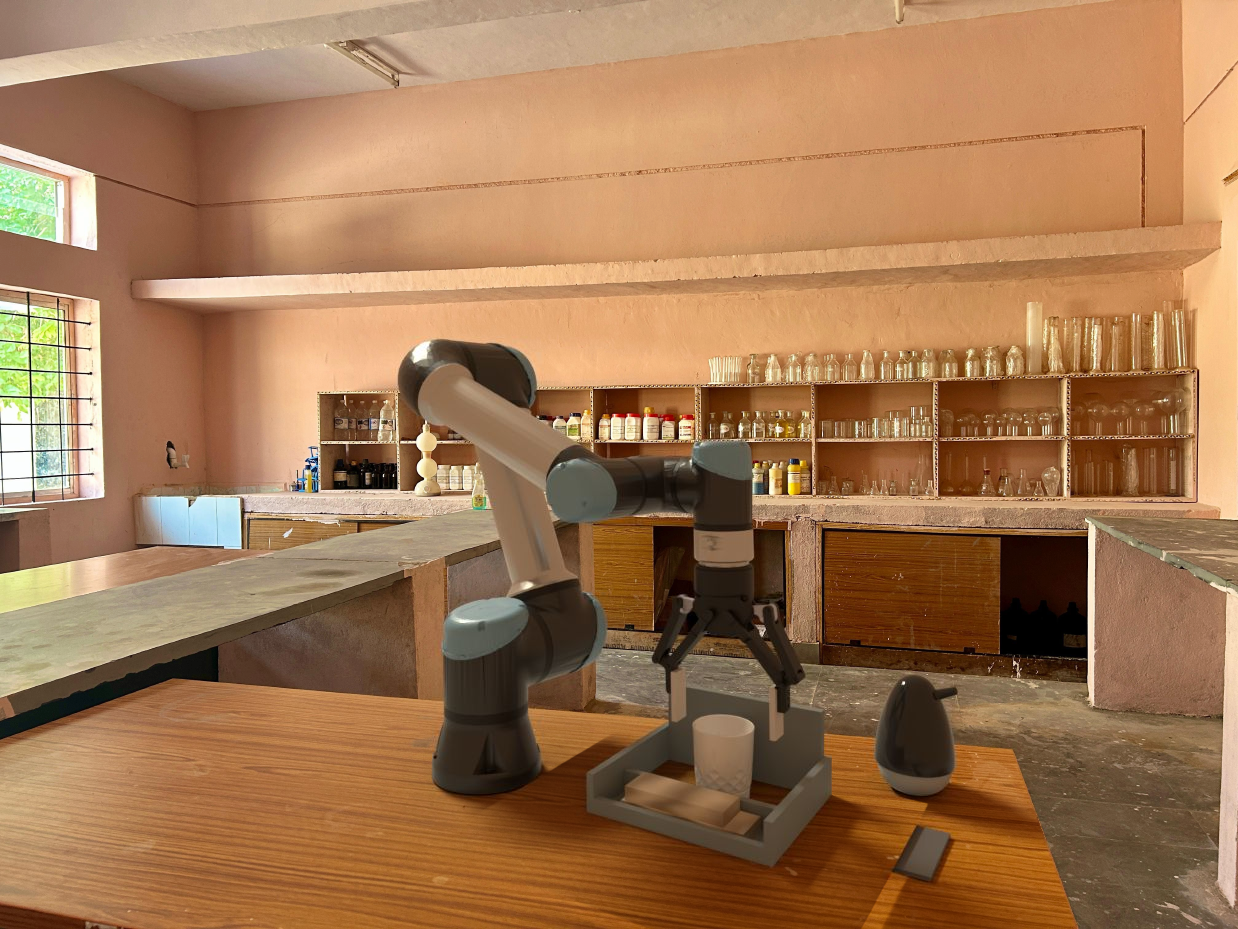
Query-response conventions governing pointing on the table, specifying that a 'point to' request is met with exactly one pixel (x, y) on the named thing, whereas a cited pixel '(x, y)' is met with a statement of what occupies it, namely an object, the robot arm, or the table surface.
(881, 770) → the pump dispenser
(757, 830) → the block
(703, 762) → the white cup
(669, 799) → the upper offcut
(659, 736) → the rack
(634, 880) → the table surface
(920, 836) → the mat
